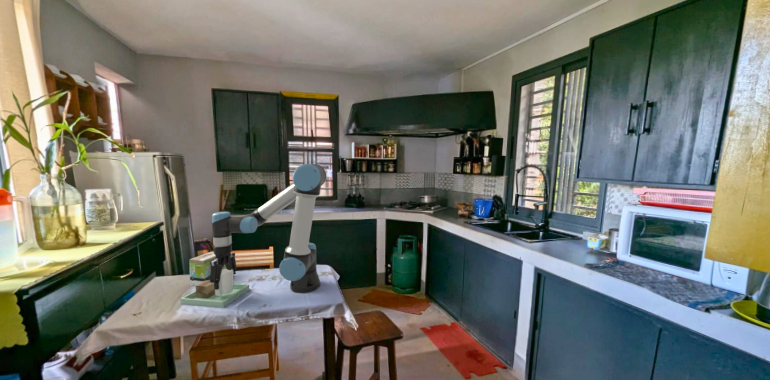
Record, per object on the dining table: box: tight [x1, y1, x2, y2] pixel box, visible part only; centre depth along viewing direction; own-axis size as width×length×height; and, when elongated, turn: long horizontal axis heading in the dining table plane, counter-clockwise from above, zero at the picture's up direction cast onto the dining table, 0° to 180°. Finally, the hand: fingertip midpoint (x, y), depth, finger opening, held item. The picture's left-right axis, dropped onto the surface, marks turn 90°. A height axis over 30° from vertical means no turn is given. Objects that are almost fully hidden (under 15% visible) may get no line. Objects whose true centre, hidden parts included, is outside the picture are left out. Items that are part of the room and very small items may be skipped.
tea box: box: [188, 250, 227, 287], centre depth 153 cm, size 15×10×15 cm, turn 168°
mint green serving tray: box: [179, 283, 250, 308], centre depth 135 cm, size 22×19×3 cm
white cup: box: [219, 268, 234, 295], centre depth 134 cm, size 8×8×10 cm
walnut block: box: [195, 281, 215, 299], centre depth 136 cm, size 6×6×6 cm
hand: (224, 291), depth 134 cm, fingers closed on white cup, 8 cm apart
